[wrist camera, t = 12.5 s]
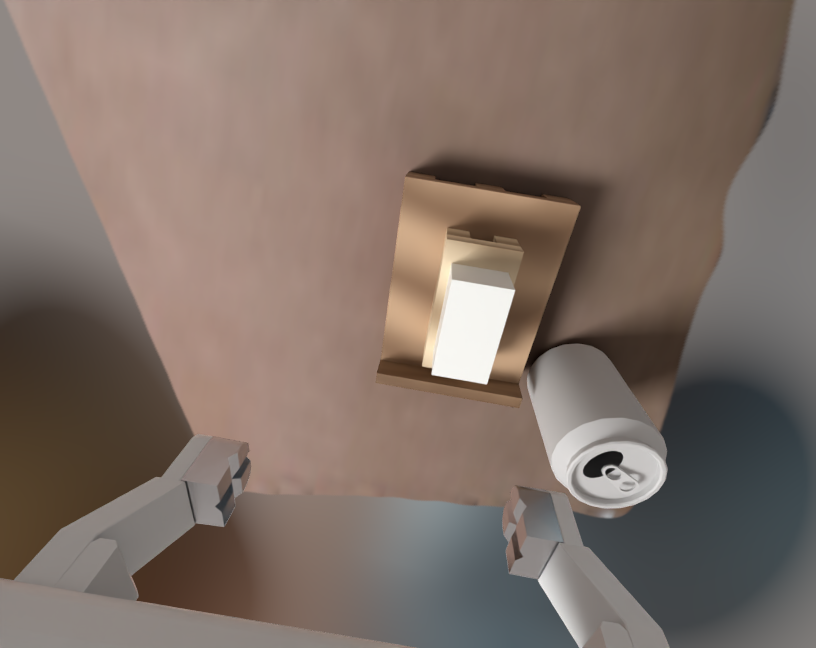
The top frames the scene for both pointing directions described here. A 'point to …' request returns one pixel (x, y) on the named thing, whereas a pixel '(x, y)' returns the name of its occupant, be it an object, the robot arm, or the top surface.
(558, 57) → the top surface
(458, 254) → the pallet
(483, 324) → the white rectangular block
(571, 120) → the top surface
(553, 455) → the can
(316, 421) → the top surface
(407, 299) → the dock
